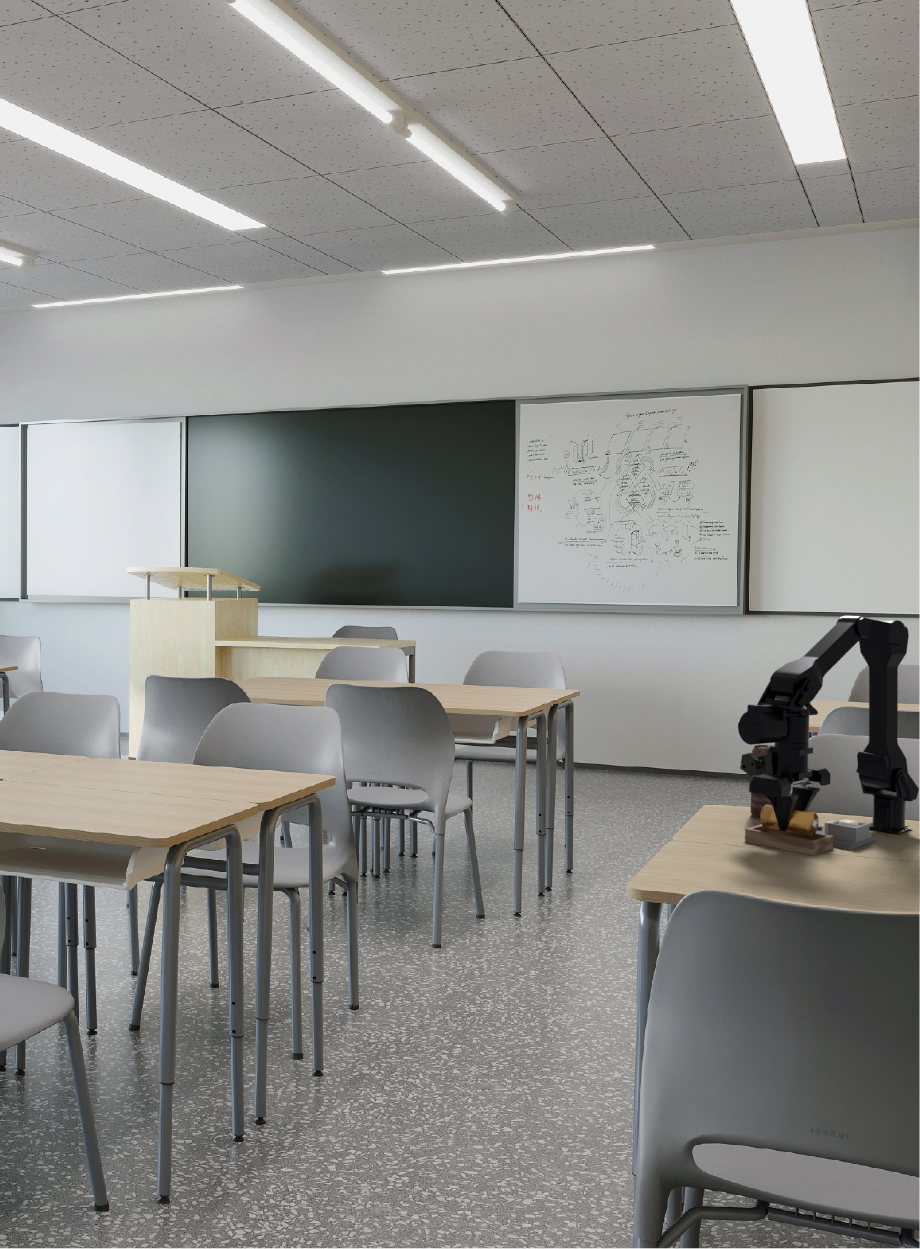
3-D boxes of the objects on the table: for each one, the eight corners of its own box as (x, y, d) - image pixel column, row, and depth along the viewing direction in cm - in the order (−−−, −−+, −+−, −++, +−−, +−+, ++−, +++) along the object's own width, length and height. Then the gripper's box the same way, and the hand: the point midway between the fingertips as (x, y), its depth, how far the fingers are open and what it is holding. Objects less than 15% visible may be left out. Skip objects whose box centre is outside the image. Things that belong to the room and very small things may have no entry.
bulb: (843, 828, 186) (844, 818, 186) (861, 832, 184) (861, 822, 184) (835, 831, 184) (835, 821, 184) (853, 834, 182) (853, 824, 182)
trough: (765, 834, 189) (766, 823, 189) (833, 848, 180) (833, 836, 180) (745, 841, 184) (745, 829, 184) (813, 855, 175) (813, 842, 175)
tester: (781, 824, 198) (782, 806, 198) (873, 841, 185) (874, 822, 185) (757, 831, 192) (757, 812, 192) (850, 850, 179) (851, 830, 179)
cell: (771, 825, 187) (771, 803, 187) (821, 834, 180) (822, 812, 180) (759, 828, 184) (760, 806, 184) (810, 838, 177) (811, 815, 177)
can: (778, 813, 208) (780, 744, 207) (785, 820, 202) (787, 749, 201) (747, 812, 209) (749, 743, 208) (753, 819, 202) (755, 748, 202)
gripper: (776, 731, 194) (774, 813, 194) (722, 740, 181) (720, 828, 181) (832, 738, 186) (830, 824, 186) (780, 748, 173) (778, 840, 173)
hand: (789, 828), depth 182 cm, fingers closed on cell, 4 cm apart
